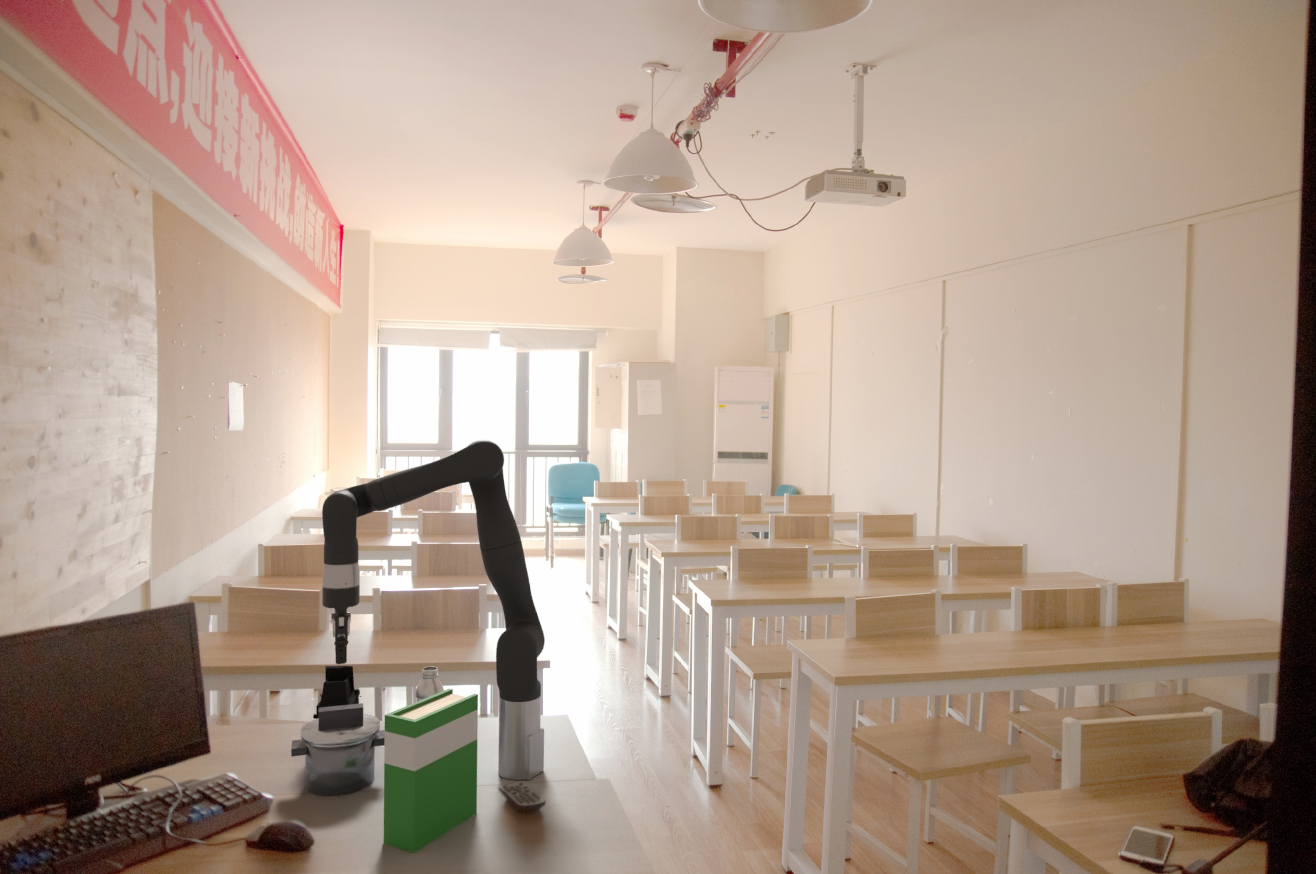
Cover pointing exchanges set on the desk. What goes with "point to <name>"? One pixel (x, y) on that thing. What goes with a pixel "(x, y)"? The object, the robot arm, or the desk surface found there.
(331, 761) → the pot
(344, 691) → the camera
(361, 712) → the lid
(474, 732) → the hardback book
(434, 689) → the plastic bottle
